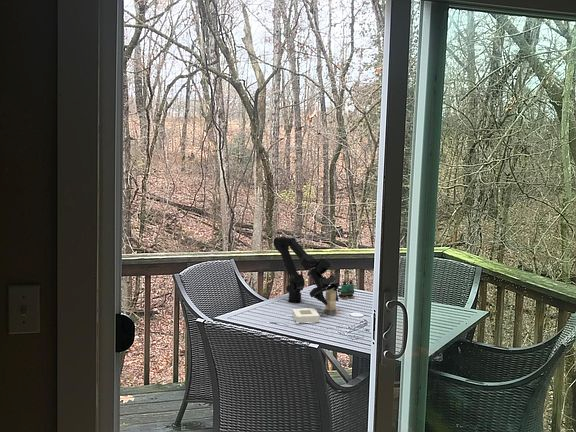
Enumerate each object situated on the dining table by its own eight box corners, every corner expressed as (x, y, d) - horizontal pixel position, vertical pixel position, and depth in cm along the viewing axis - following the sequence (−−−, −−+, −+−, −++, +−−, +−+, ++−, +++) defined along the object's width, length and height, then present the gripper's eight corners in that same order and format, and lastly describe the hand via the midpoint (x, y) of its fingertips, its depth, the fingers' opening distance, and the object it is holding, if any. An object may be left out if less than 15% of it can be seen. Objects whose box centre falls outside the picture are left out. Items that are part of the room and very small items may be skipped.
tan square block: (324, 313, 333) (325, 290, 331) (329, 312, 336) (330, 289, 333) (330, 315, 330) (331, 292, 328) (335, 314, 333) (336, 291, 330)
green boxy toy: (347, 277, 367) (356, 280, 358) (347, 294, 368) (356, 298, 359) (334, 279, 363) (343, 282, 354) (334, 296, 364) (343, 300, 355)
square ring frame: (292, 316, 329) (292, 308, 328) (313, 314, 331) (314, 307, 330) (296, 324, 317) (296, 316, 317) (319, 323, 320) (319, 315, 319)
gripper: (313, 273, 325) (328, 299, 319) (337, 267, 338) (352, 291, 332) (303, 284, 332) (317, 309, 327) (327, 278, 345) (341, 302, 339)
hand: (332, 302), depth 331 cm, fingers open, 8 cm apart
